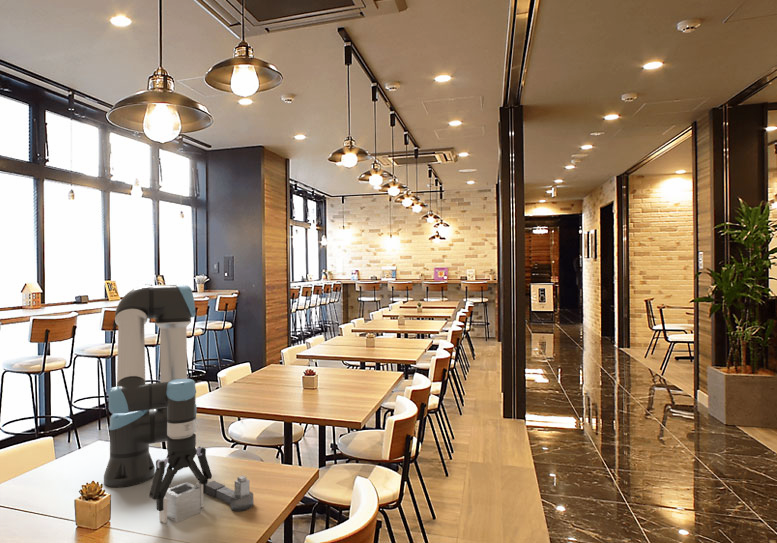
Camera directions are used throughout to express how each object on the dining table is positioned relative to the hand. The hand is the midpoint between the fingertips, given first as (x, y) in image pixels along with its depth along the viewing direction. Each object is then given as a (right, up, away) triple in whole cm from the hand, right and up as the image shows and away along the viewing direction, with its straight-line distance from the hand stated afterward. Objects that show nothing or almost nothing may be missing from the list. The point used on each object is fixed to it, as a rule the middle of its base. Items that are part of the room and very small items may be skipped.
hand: (182, 513), depth 137 cm
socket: (0, 0, 0) cm, 0 cm away
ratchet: (+10, 0, +9) cm, 13 cm away
